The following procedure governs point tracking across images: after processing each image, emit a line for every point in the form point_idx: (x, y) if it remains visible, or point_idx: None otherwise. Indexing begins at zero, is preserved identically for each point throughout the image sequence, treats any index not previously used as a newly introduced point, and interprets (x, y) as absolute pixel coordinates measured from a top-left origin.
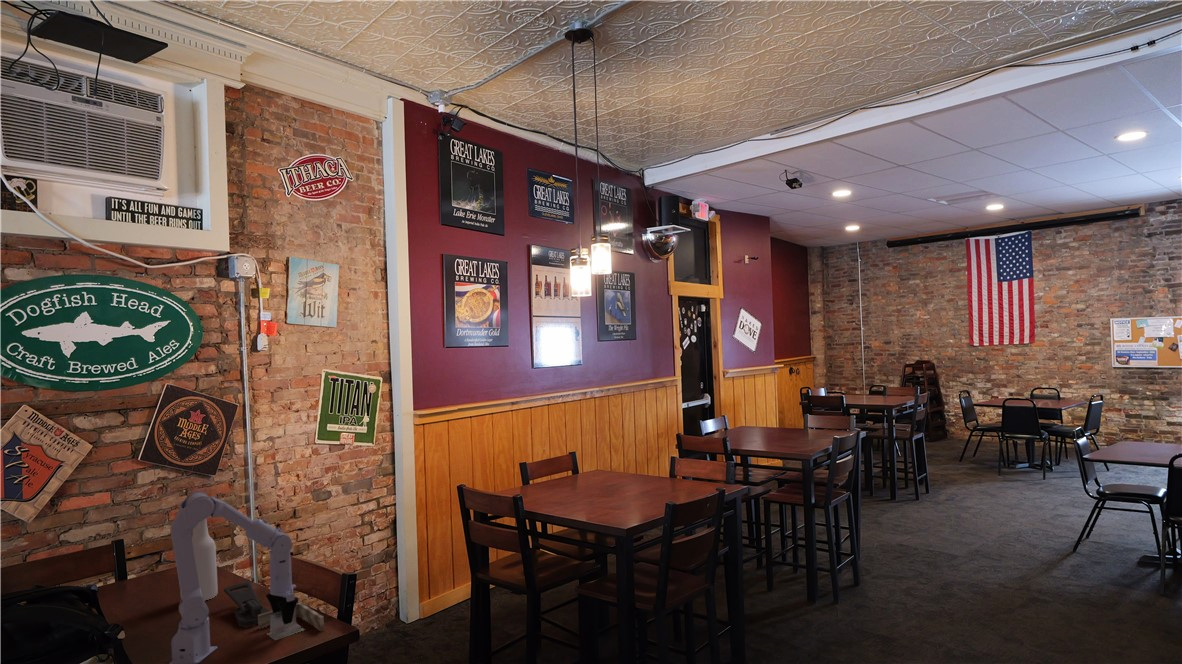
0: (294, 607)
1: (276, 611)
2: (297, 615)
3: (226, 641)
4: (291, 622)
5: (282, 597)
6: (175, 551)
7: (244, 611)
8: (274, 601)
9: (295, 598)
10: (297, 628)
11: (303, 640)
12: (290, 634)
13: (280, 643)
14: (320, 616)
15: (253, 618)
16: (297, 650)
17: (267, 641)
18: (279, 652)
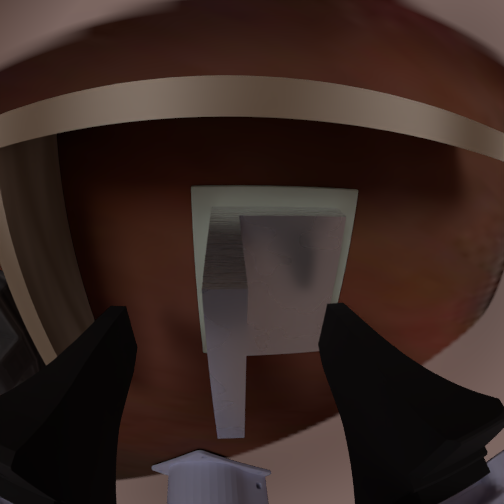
0: (432, 378)
1: (121, 374)
2: (49, 141)
3: (154, 428)
4: (345, 305)
5: (65, 433)
6: None
7: None
8: (102, 456)
9: (478, 443)
10: (340, 240)
11: (451, 252)
12: (340, 278)
13: (379, 332)
14: (500, 147)
15: (30, 366)
16: (483, 298)
17: (299, 364)
18: (437, 345)
